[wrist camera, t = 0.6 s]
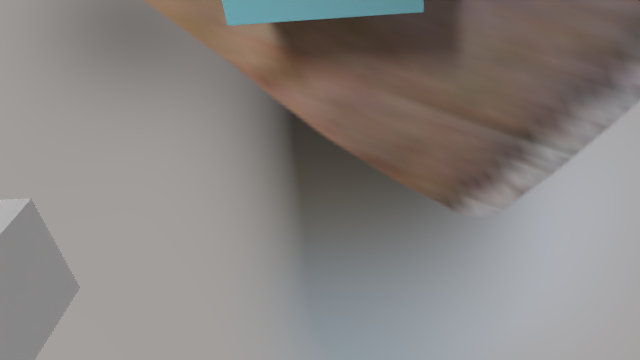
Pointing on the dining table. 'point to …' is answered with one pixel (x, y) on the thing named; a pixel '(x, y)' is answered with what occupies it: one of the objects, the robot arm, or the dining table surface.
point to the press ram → (312, 9)
